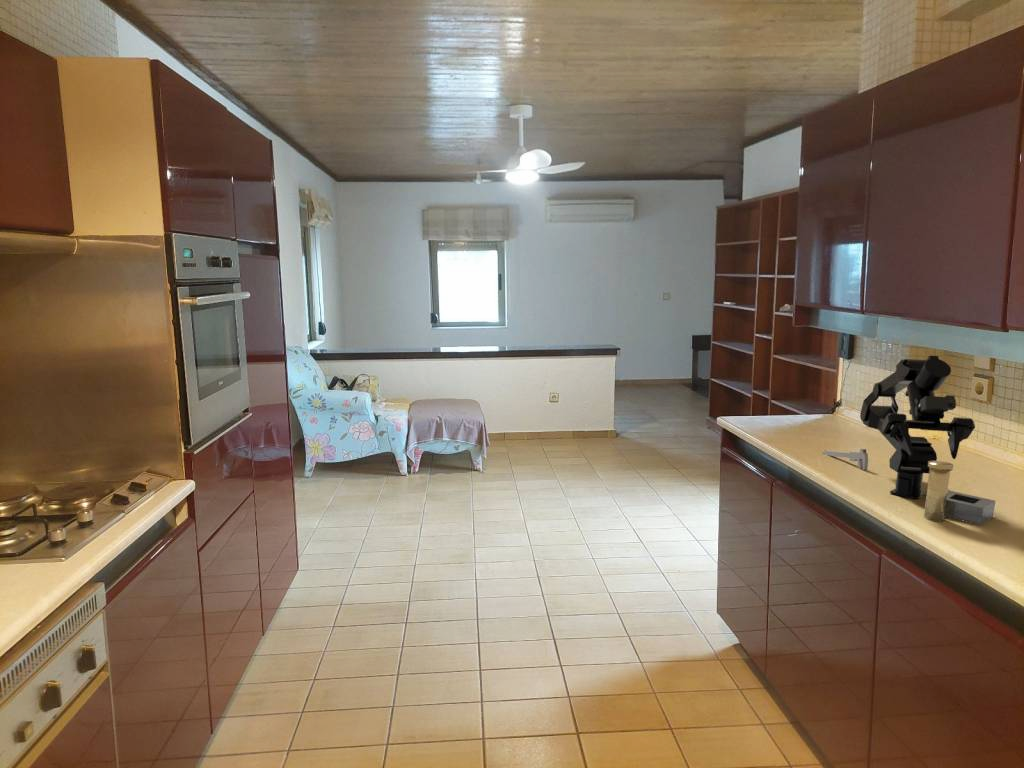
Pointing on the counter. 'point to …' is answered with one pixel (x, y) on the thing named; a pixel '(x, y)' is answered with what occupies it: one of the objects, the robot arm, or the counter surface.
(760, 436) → the counter surface
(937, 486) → the flanged metal cylinder
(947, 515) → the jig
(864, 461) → the caliper
